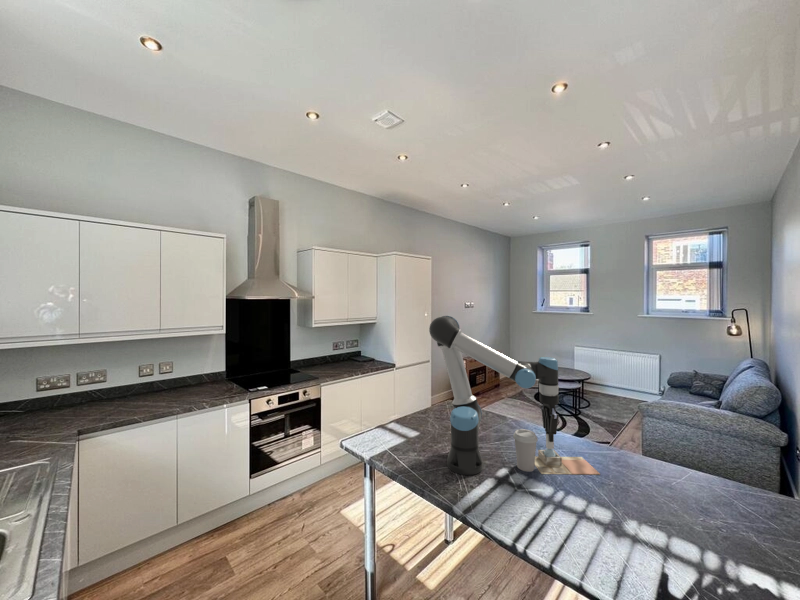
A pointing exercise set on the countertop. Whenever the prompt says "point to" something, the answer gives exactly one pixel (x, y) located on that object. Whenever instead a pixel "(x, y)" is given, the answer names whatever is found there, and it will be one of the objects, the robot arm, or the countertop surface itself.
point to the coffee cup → (525, 449)
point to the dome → (549, 453)
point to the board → (563, 465)
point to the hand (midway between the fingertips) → (550, 448)
